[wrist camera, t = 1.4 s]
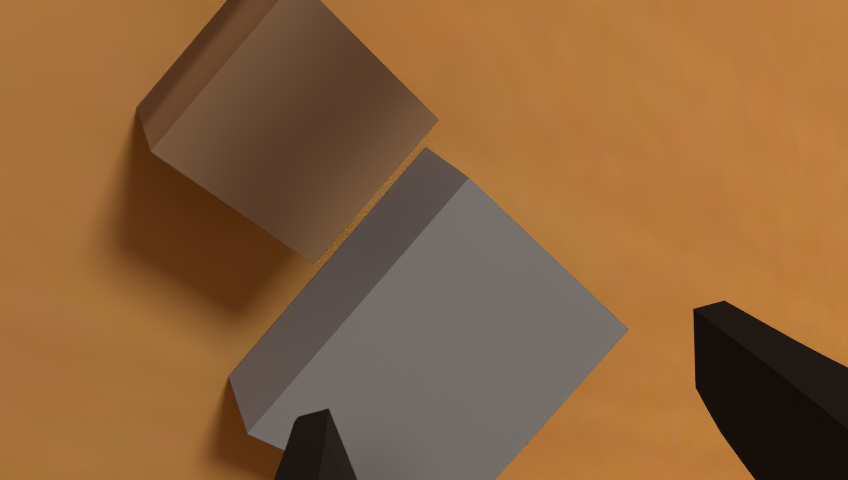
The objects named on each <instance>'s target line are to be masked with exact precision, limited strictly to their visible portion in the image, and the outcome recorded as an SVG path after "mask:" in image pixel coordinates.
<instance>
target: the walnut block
mask: <svg viewBox="0 0 848 480" xmlns="http://www.w3.org/2000/svg"><path fill="white" fill-rule="evenodd" d="M137 111H138V114H139V117H140V120H141V123H142V126H143V130H144V133H145V136H146V139H147V142H148V145H149V149H150V152H152V153H153V154H155V155H156V156H158V157H159V158H160V159H162V160H163V161H165V162H166V163H168V164H169V165H171V166H172V167H173V168H175V169H176V170H178V171H179V172H181V173H182V174H184V175H185V176H186V177H188V178H189V179H191V180H192V181H194V182H195V183H197V184H198V185H199V186H201V187H202V188H204V189H205V190H207V191H208V192H210V193H211V194H212V195H214V196H215V197H217V198H218V199H220V200H221V201H223V202H224V203H225V204H227V205H228V206H230V207H231V208H233V209H234V210H236V211H237V212H238V213H240V214H241V215H243V216H244V217H246V218H247V219H248V220H250V221H251V222H253V223H254V224H256V225H257V226H259V227H260V228H261V229H263V230H264V231H266V232H267V233H269V234H270V235H272V236H273V237H274V238H276V239H277V240H279V241H280V242H282V243H283V244H285V245H286V246H287V247H289V248H290V249H292V250H293V251H295V252H296V253H298V254H299V255H300V256H302V257H303V258H305V259H306V260H308V261H309V262H311V263H312V264H314V263H315V262H316V261H317V260H318V259H319V257H320V256H321V255H322V254H323V253H324V252H325V251H326V249H327V248H328V247H329V246H330V245H331V244H332V243H333V241H334V240H335V239H336V238H337V237H338V236H339V234H340V233H341V232H342V231H343V230H344V229H345V228H346V226H347V225H348V224H349V223H350V222H351V221H352V219H353V218H354V217H355V216H356V215H357V214H358V213H359V211H360V210H361V209H362V208H363V207H364V206H365V204H366V203H367V202H368V201H369V200H370V199H371V198H372V196H373V195H374V194H375V193H376V192H377V191H378V190H379V188H380V187H381V186H382V185H383V184H384V183H385V181H386V180H387V179H388V178H389V177H390V176H391V175H392V173H393V172H394V171H395V170H396V169H397V168H398V166H399V165H400V164H401V163H402V162H403V161H404V160H405V158H406V157H407V156H408V155H409V154H410V153H411V152H412V150H413V149H414V148H415V147H416V146H417V145H418V143H419V142H420V141H421V140H422V139H423V138H424V137H425V135H426V134H427V133H428V132H429V131H430V130H431V128H432V127H433V126H434V125H435V124H436V123H437V122H438V119H437V118H436V117H435V116H434V115H433V114H432V113H431V112H430V111H429V109H428V108H427V107H426V106H425V105H424V104H423V103H422V102H421V101H420V100H419V99H418V98H417V97H416V96H415V95H414V94H413V93H412V92H411V91H410V90H409V89H408V88H407V87H406V86H405V85H404V84H403V83H402V82H401V81H400V80H399V79H398V78H397V77H396V76H395V75H394V74H393V73H392V72H391V71H390V70H389V69H388V68H387V67H386V66H385V65H384V64H383V63H382V62H381V61H380V60H379V59H378V58H377V57H376V56H375V55H374V54H373V53H372V52H371V51H370V50H369V49H368V48H367V47H366V46H365V45H364V44H363V43H362V42H361V41H360V40H359V39H358V38H357V37H356V36H355V35H354V34H353V33H352V32H351V31H350V30H349V29H348V28H347V27H346V26H345V25H344V24H343V23H342V22H341V21H340V20H339V19H338V18H337V17H336V16H335V15H334V14H333V13H332V12H331V11H330V10H329V9H328V8H327V7H326V6H325V5H324V4H323V3H322V2H321V1H320V0H227V1H226V2H225V3H224V5H223V6H222V7H221V8H220V9H219V11H218V12H217V13H216V14H215V15H214V16H213V18H212V19H211V20H210V21H209V22H208V24H207V25H206V26H205V27H204V28H203V30H202V31H201V32H200V33H199V34H198V35H197V37H196V38H195V39H194V40H193V41H192V43H191V44H190V45H189V46H188V47H187V48H186V50H185V51H184V52H183V53H182V54H181V56H180V57H179V58H178V59H177V60H176V61H175V63H174V64H173V65H172V66H171V67H170V69H169V70H168V71H167V72H166V73H165V74H164V76H163V77H162V78H161V79H160V80H159V82H158V83H157V84H156V85H155V86H154V87H153V89H152V90H151V91H150V92H149V93H148V95H147V96H146V97H145V98H144V99H143V100H142V102H141V103H140V104H139V105H138V106H137Z"/></svg>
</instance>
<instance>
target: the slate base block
mask: <svg viewBox="0 0 848 480" xmlns="http://www.w3.org/2000/svg"><path fill="white" fill-rule="evenodd" d="M628 330H629V329H628V328H627V327H626V326H625V325H623V324H622V323H621V322H620V321H619V320H618V319H617V318H616V317H615V316H614V315H613V314H612V313H611V312H610V311H609V310H608V309H607V308H606V307H605V306H603V305H602V304H601V303H600V302H599V301H598V300H597V299H596V298H595V297H594V296H593V295H592V294H591V293H590V292H589V291H588V290H587V289H586V288H584V287H583V286H582V285H581V284H580V283H579V282H578V281H577V280H576V279H575V278H574V277H573V276H572V275H571V274H570V273H569V272H568V271H567V270H566V269H564V268H563V267H562V266H561V265H560V264H559V263H558V262H557V261H556V260H555V259H554V258H553V257H552V256H551V255H550V254H549V253H548V252H547V251H546V250H544V249H543V248H542V247H541V246H540V245H539V244H538V243H537V242H536V241H535V240H534V239H533V238H532V237H531V236H530V235H529V234H528V233H527V232H526V231H524V230H523V229H522V228H521V227H520V226H519V225H518V224H517V223H516V222H515V221H514V220H513V219H512V218H511V217H510V216H509V215H508V214H507V213H505V212H504V211H503V210H502V209H501V208H500V207H499V206H498V205H497V204H496V203H495V202H494V201H493V200H492V199H491V198H490V197H489V196H488V195H487V194H485V193H484V192H483V191H482V190H481V189H480V188H479V187H478V186H477V185H476V184H475V183H474V182H473V181H472V180H471V179H470V178H469V177H467V176H466V175H464V174H463V173H462V172H460V171H459V170H457V169H456V168H455V167H453V166H452V165H450V164H449V163H448V162H446V161H445V160H443V159H442V158H441V157H439V156H438V155H436V154H435V153H434V152H432V151H431V150H429V149H428V148H427V147H426V148H425V149H424V150H423V151H422V152H421V153H420V154H419V156H418V157H417V158H416V159H415V160H414V161H413V163H412V164H411V165H410V166H409V167H408V168H407V170H406V171H405V172H404V173H403V174H402V175H401V177H400V178H399V179H398V180H397V181H396V182H395V184H394V185H393V186H392V187H391V188H390V189H389V191H388V192H387V193H386V194H385V195H384V196H383V198H382V199H381V200H380V201H379V202H378V203H377V204H376V206H375V207H374V208H373V209H372V210H371V211H370V213H369V214H368V215H367V216H366V217H365V218H364V220H363V221H362V222H361V223H360V224H359V225H358V227H357V228H356V229H355V230H354V231H353V232H352V234H351V235H350V236H349V237H348V238H347V239H346V241H345V242H344V243H343V244H342V245H341V246H340V248H339V249H338V250H337V251H336V252H335V253H334V254H333V256H332V257H331V258H330V259H329V260H328V261H327V263H326V264H325V265H324V266H323V267H322V268H321V270H320V271H319V272H318V273H317V274H316V275H315V277H314V278H313V279H312V280H311V281H310V282H309V284H308V285H307V286H306V287H305V288H304V289H303V291H302V292H301V293H300V294H299V295H298V296H297V298H296V299H295V300H294V301H293V302H292V303H291V305H290V306H289V307H288V308H287V309H286V310H285V311H284V313H283V314H282V315H281V316H280V317H279V318H278V320H277V321H276V322H275V323H274V324H273V325H272V327H271V328H270V329H269V330H268V331H267V332H266V334H265V335H264V336H263V337H262V338H261V339H260V341H259V342H258V343H257V344H256V345H255V346H254V348H253V349H252V350H251V351H250V352H249V353H248V355H247V356H246V357H245V358H244V359H243V360H242V361H241V363H240V364H239V365H238V366H237V367H236V368H235V370H234V371H233V372H232V373H231V374H230V375H229V379H230V382H231V385H232V388H233V392H234V395H235V398H236V401H237V404H238V407H239V410H240V413H241V416H242V419H243V422H244V425H245V428H246V431H247V434H249V435H251V436H253V437H255V438H258V439H260V440H262V441H264V442H266V443H269V444H271V445H273V446H275V447H277V448H280V449H282V450H284V451H285V448H286V445H287V442H288V439H289V436H290V433H291V430H292V427H293V424H294V422H295V420H296V419H297V417H299V416H302V415H306V414H310V413H313V412H317V411H321V410H324V409H328V408H329V410H330V413H331V415H332V418H333V420H334V423H335V425H336V428H337V430H338V433H339V435H340V438H341V440H342V443H343V445H344V447H345V450H346V452H347V455H348V457H349V460H350V462H351V465H352V467H353V470H354V472H355V475H356V477H357V480H495V479H496V478H497V477H498V476H499V475H500V474H501V472H502V471H503V470H504V469H505V468H506V467H507V466H508V465H509V463H510V462H511V461H512V460H513V459H514V458H515V457H516V456H517V454H518V453H519V452H520V451H521V450H522V449H523V448H524V447H525V445H526V444H527V443H528V442H529V441H530V440H531V439H532V438H533V437H534V435H535V434H536V433H537V432H538V431H539V430H540V429H541V428H542V426H543V425H544V424H545V423H546V422H547V421H548V420H549V419H550V417H551V416H552V415H553V414H554V413H555V412H556V411H557V410H558V408H559V407H560V406H561V405H562V404H563V403H564V402H565V401H566V399H567V398H568V397H569V396H570V395H571V394H572V393H573V392H574V390H575V389H576V388H577V387H578V386H579V385H580V384H581V383H582V382H583V380H584V379H585V378H586V377H587V376H588V375H589V374H590V373H591V371H592V370H593V369H594V368H595V367H596V366H597V365H598V364H599V362H600V361H601V360H602V359H603V358H604V357H605V356H606V355H607V353H608V352H609V351H610V350H611V349H612V348H613V347H614V346H615V344H616V343H617V342H618V341H619V340H620V339H621V338H622V337H623V335H624V334H625V333H626V332H627V331H628Z"/></svg>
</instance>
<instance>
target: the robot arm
mask: <svg viewBox="0 0 848 480" xmlns="http://www.w3.org/2000/svg"><path fill="white" fill-rule="evenodd" d="M693 312H694V348H695V383H696V389H697V391H698V393H699V395H700V396H701V398H702V400H703V402H704V404H705V406H706V407H707V409H708V411H709V413H710V415H711V416H712V418H713V420H714V422H715V423H716V425H717V427H718V428H719V430H720V432H721V434H722V435H723V436H724V438H725V439H726V440H727V442H728V443H729V445H730V446H731V447H732V449H733V450H734V451H735V453H736V454H737V456H738V457H739V458H740V460H741V461H742V462H743V464H744V465H745V466H746V468H747V469H748V471H749V472H750V473H751V475H752V476H753V477H754V479H755V480H848V367H846V366H844V365H842V364H840V363H838V362H836V361H834V360H832V359H830V358H828V357H826V356H824V355H822V354H820V353H818V352H816V351H814V350H812V349H811V348H809V347H807V346H805V345H803V344H801V343H799V342H797V341H796V340H794V339H792V338H790V337H788V336H787V335H785V334H783V333H781V332H779V331H778V330H776V329H774V328H772V327H770V326H769V325H767V324H765V323H763V322H762V321H760V320H758V319H756V318H754V317H753V316H751V315H749V314H747V313H746V312H744V311H742V310H740V309H738V308H737V307H735V306H733V305H731V304H729V303H728V302H726V301H721V302H717V303H714V304H710V305H706V306H703V307H699V308H695V309H693ZM274 480H357V477H356V475H355V472H354V470H353V467H352V465H351V462H350V460H349V457H348V455H347V452H346V450H345V447H344V445H343V443H342V440H341V438H340V435H339V433H338V430H337V428H336V425H335V423H334V420H333V418H332V415H331V413H330V410H329V408H328V409H324V410H321V411H317V412H313V413H310V414H306V415H302V416H299V417H297V419H296V420H295V422H294V424H293V427H292V430H291V433H290V436H289V439H288V442H287V445H286V448H285V451H284V454H283V457H282V460H281V462H280V465H279V468H278V470H277V473H276V476H275V479H274Z"/></svg>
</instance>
